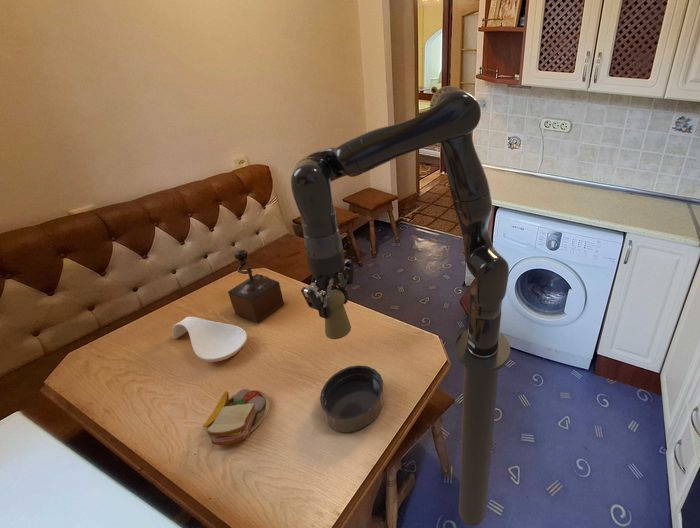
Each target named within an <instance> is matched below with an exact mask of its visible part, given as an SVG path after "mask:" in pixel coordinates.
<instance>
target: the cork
mask: <svg viewBox="0 0 700 528" xmlns="http://www.w3.org/2000/svg"><path fill="white" fill-rule="evenodd" d="M321 300H322V301H323V297H321ZM344 301H345V297H344V294H343V293H342V292H341V291H340V290H337V289H331V295H330V297H328V304H327V305H328V307H329V313H330V318H328V319H325V318H324V334H325V337H326V338H328V339H330V340H340V339H343V338H345V337H346V336H348V334H349V333H350V332H351V330H352V326H351V322H350V319H349V317H348V314H347V311H346V308H345V304H344Z"/></svg>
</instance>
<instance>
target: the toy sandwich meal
mask: <svg viewBox="0 0 700 528" xmlns="http://www.w3.org/2000/svg"><path fill="white" fill-rule="evenodd" d="M269 398H270V397H269V396H268V395H267V394H266V393H265V392H263V391H261V390H257V389H255V390H254V389H248V388H242V389H240V390H239V391H237V392H236V393H235V394H233V395H231V396H230V395H229V391H228V390H227V391H225V392H223V394H222V396H221V397H220V399H219V401H217V404H216V405H215V407H214V409H213V411H212V413H211V414H210V416H208V418H207V419H206V421H205V423H204V424H203V425H202V427H203V428H205V432H206V435H207V436H208V438H209V439H210V442H211V444H212V445H214V446H226V445H227V446H228V445H231V444H236V443H239V442H242V441H244V440H246V439H248V438H249V437H250V436H251V435H250V434H251V433H252V432H254V430H256V429H257V428H258V427H259V426H260V425H261V424H262V422H263V421H264V420H265V418H266V416H267V415H268V412H269V410H270V399H269Z"/></svg>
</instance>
